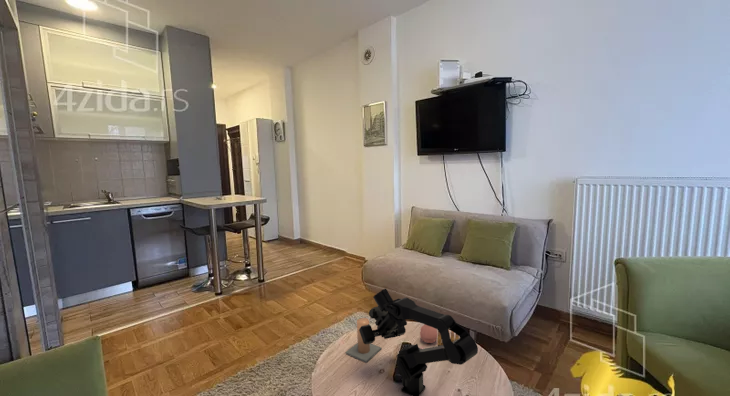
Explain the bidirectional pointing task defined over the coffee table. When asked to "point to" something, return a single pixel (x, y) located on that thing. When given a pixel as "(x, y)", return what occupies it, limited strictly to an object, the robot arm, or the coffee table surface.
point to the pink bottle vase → (428, 334)
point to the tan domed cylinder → (361, 346)
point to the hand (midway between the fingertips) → (374, 340)
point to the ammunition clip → (449, 334)
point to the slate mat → (363, 357)
